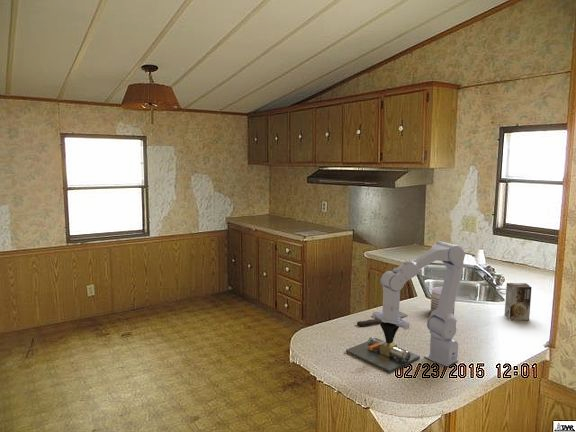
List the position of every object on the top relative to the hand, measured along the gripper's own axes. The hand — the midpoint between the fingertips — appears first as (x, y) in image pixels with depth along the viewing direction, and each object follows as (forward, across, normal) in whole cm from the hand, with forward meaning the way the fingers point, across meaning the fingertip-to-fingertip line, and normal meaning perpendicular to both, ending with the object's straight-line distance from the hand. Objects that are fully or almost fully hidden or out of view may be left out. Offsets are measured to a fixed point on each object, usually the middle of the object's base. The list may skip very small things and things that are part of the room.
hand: (389, 342), depth 154 cm
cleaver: (+10, -33, +36) cm, 50 cm away
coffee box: (+10, +6, +89) cm, 89 cm away
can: (+10, -19, +66) cm, 69 cm away
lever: (+4, -6, +3) cm, 8 cm away
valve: (+10, -8, +7) cm, 14 cm away
